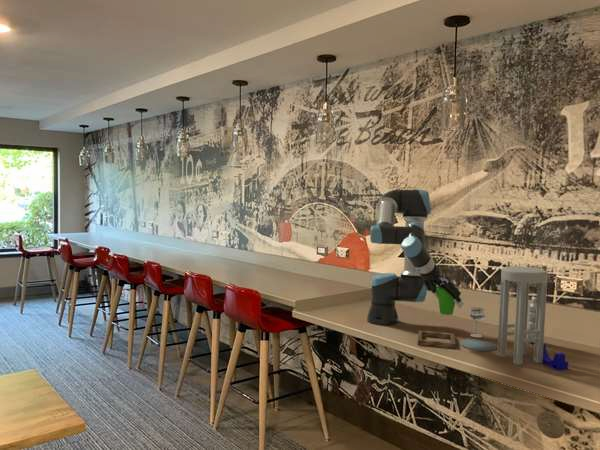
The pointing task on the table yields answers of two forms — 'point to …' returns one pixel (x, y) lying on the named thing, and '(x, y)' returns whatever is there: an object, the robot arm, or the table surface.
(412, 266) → the robot arm
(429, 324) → the table surface
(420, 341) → the cup holder
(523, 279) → the stool
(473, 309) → the wineglass
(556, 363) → the cable clip
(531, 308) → the plastic bottle
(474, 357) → the table surface
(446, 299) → the cup
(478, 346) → the mat
